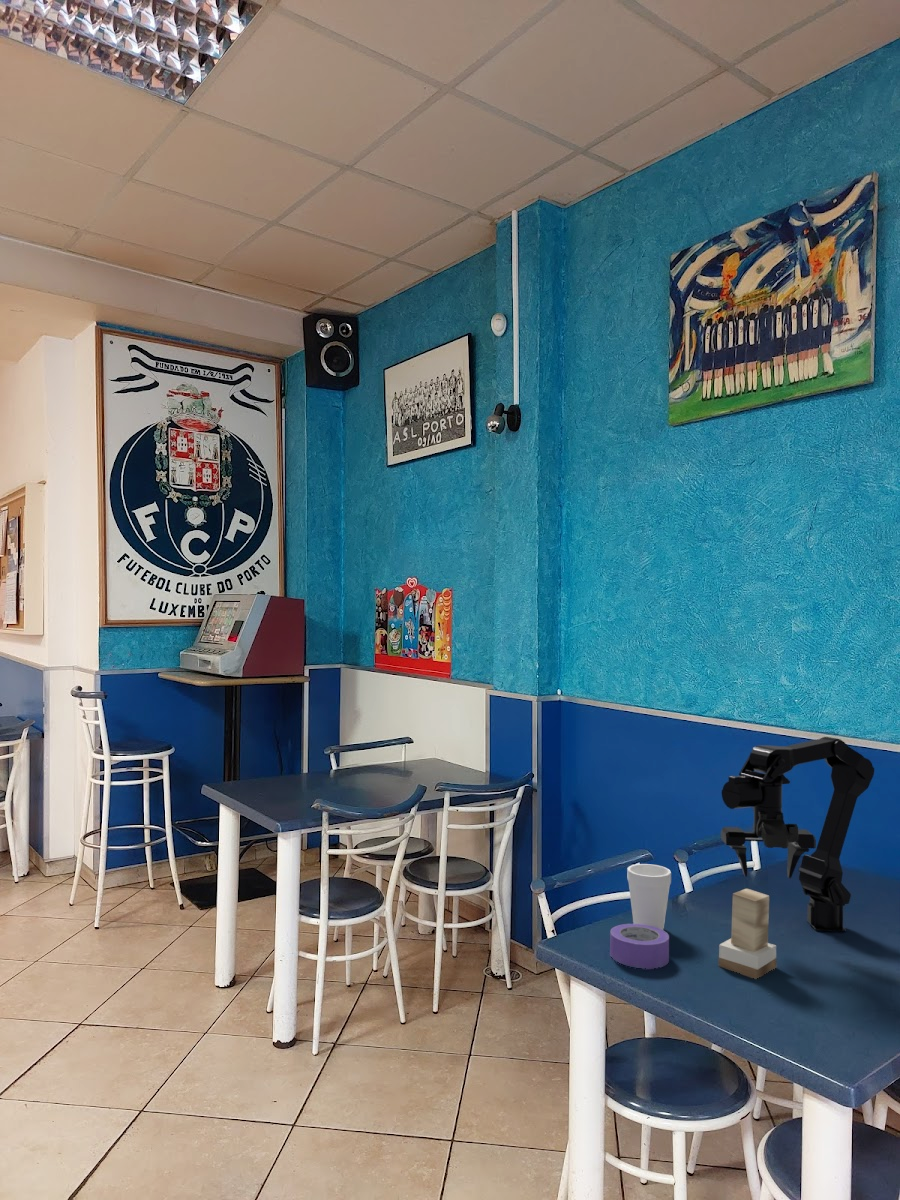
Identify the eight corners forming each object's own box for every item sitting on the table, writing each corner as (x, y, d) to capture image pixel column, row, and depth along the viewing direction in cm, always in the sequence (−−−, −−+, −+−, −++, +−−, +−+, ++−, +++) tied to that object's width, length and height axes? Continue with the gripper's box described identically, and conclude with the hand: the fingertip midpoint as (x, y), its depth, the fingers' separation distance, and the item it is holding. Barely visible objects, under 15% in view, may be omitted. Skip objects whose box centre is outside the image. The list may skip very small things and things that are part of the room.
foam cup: (672, 924, 194) (672, 866, 194) (668, 939, 185) (669, 878, 185) (629, 919, 197) (630, 862, 197) (624, 933, 188) (624, 873, 188)
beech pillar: (744, 937, 175) (746, 888, 174) (767, 945, 171) (769, 895, 171) (731, 943, 171) (732, 893, 171) (754, 952, 168) (755, 901, 167)
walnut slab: (739, 959, 177) (739, 946, 177) (776, 971, 171) (776, 958, 171) (718, 969, 171) (718, 956, 171) (756, 982, 165) (756, 969, 166)
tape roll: (631, 942, 184) (631, 918, 184) (680, 958, 176) (680, 933, 176) (598, 957, 176) (598, 932, 176) (648, 975, 167) (648, 949, 167)
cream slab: (738, 946, 177) (738, 934, 177) (776, 957, 171) (776, 945, 171) (719, 957, 171) (719, 944, 171) (757, 969, 165) (757, 956, 165)
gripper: (732, 812, 180) (731, 887, 180) (824, 815, 178) (824, 890, 178) (720, 800, 191) (720, 871, 191) (807, 803, 189) (807, 874, 189)
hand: (767, 877), depth 187 cm, fingers open, 9 cm apart
